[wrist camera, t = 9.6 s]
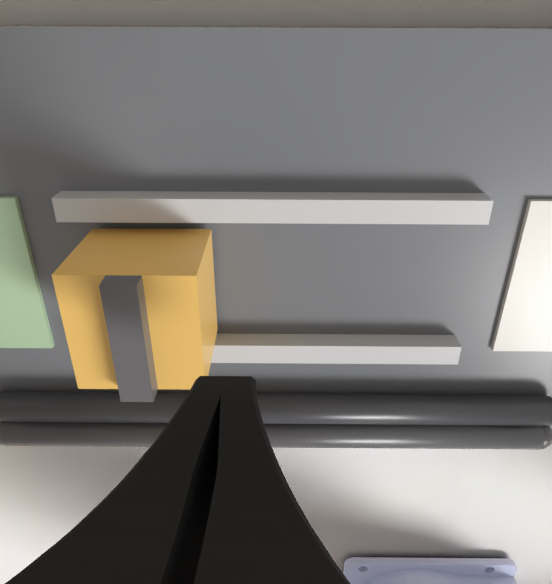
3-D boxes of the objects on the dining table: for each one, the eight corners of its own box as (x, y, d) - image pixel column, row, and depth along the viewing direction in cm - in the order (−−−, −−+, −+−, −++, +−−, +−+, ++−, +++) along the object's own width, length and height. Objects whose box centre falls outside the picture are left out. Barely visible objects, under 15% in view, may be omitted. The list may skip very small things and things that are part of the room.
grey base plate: (724, 28, 16) (805, 30, 13) (575, 419, 23) (608, 464, 21) (-176, 25, 16) (-257, 26, 13) (-29, 414, 23) (-64, 459, 21)
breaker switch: (211, 229, 17) (192, 285, 13) (217, 329, 19) (203, 402, 15) (93, 228, 17) (42, 285, 13) (111, 328, 19) (71, 401, 15)
